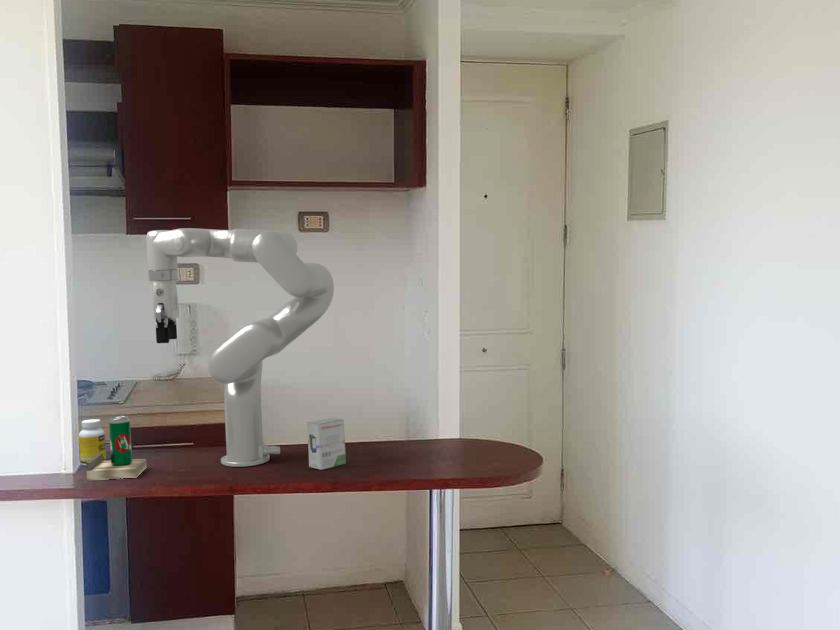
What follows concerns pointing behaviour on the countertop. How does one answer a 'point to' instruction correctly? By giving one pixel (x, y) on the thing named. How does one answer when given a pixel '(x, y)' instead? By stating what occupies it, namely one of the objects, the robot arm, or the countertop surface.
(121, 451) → the soda can
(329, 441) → the ink box
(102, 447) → the pill bottle
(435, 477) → the countertop surface
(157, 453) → the countertop surface
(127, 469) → the dock
